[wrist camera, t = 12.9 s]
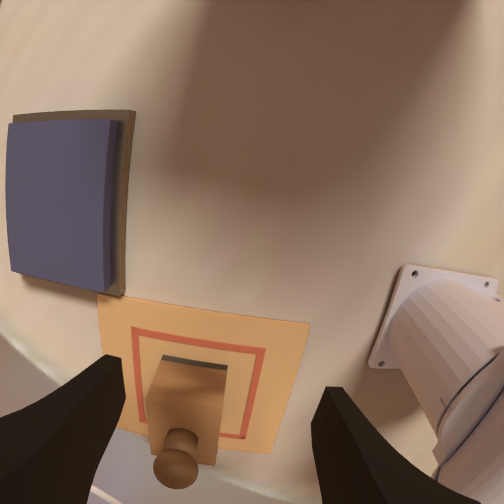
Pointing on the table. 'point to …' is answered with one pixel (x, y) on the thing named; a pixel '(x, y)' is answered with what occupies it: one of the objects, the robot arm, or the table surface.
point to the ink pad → (69, 196)
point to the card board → (207, 350)
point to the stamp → (184, 417)
